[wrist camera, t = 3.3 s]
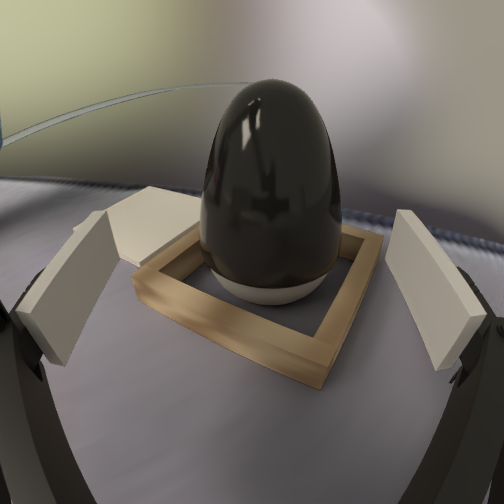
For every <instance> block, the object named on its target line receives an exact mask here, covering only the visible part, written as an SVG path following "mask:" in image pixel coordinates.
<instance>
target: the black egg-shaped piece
mask: <svg viewBox="0 0 504 504" xmlns="http://www.w3.org/2000/svg"><path fill="white" fill-rule="evenodd" d="M199 238H200V248H201V253H202V256H203V259H204V261H205V262H206V264H207V265H208V266H209V267H210V268H211V270H212V272H213V274H214V276H215V277H216V279H217V280H218V281H219V283H220V284H221V285H222V286H223V287H224V288H225V289H226V290H228V291H229V292H230V293H231V294H233V295H235V296H236V297H238V298H240V299H242V300H245V301H247V302H250V303H254V304H259V305H282V304H287V303H291V302H294V301H297V300H299V299H301V298H303V297H305V296H307V295H308V294H310V293H311V292H312V291H313V290H315V289H316V288H317V287H318V286H319V285H320V284H321V282H322V281H323V280H324V278H325V277H326V275H327V274H328V272H329V271H330V270H331V269H332V268H333V266H334V265H335V264H336V262H337V260H338V257H339V253H340V248H341V239H342V210H341V196H340V188H339V181H338V174H337V169H336V163H335V159H334V154H333V149H332V146H331V142H330V138H329V135H328V132H327V130H326V127H325V124H324V122H323V120H322V117H321V115H320V113H319V111H318V110H317V108H316V106H315V105H314V103H313V101H312V100H311V99H310V97H309V96H308V95H307V94H306V93H305V92H304V91H303V90H301V89H300V88H298V87H297V86H295V85H293V84H291V83H289V82H286V81H282V80H277V79H268V80H261V81H257V82H254V83H252V84H250V85H248V86H246V87H245V88H243V89H242V90H241V91H239V92H238V93H237V94H236V96H235V97H234V98H233V100H232V101H231V103H230V104H229V106H228V107H227V109H226V111H225V113H224V115H223V117H222V119H221V121H220V123H219V126H218V128H217V131H216V134H215V137H214V140H213V143H212V147H211V151H210V155H209V160H208V164H207V168H206V173H205V178H204V184H203V190H202V198H201V208H200V225H199Z"/></svg>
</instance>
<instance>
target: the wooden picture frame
mask: <svg viewBox="0 0 504 504" xmlns="http://www.w3.org/2000/svg"><path fill="white" fill-rule="evenodd" d="M383 238H384V236H383V235H379V234H376V233H373V232H369V231H366V230H362V229H359V228H356V227H352V226H349V225H345V224H342V239H341V248H340V253H339V256H340V257H344V258H347V259H350V260H353V261H354V263H353V265H352V267H351V269H350V271H349V273H348V275H347V276H346V278H345V280H344V282H343V284H342V286H341V288H340V290H339V292H338V294H337V296H336V298H335V300H334V301H333V303H332V305H331V307H330V309H329V311H328V312H327V314H326V316H325V318H324V320H323V322H322V323H321V325H320V327H319V329H318V330H317V332H316V334H315V336H314V337H313V338H312V337H309V336H307V335H304V334H302V333H299V332H297V331H294V330H292V329H289V328H287V327H284V326H282V325H279V324H277V323H274V322H272V321H269V320H267V319H264V318H262V317H260V316H257V315H255V314H253V313H250V312H248V311H245V310H243V309H241V308H238V307H236V306H234V305H231V304H229V303H227V302H225V301H222V300H220V299H218V298H215V297H213V296H211V295H209V294H206V293H204V292H202V291H200V290H198V289H195V288H193V287H191V286H189V285H187V284H184V283H182V281H183V280H184V279H185V278H186V277H187V276H189V275H190V274H191V273H192V272H193V271H195V270H196V269H197V268H198V267H199V266H200V265H202V264H203V263H204V262H205V261H204V259H203V256H202V253H201V248H200V238H199V226H198V227H196V228H195V229H194V230H192V231H191V232H189V233H188V234H186V235H185V236H184V237H182V238H181V239H179V240H178V241H177V242H175V243H174V244H172V245H171V246H170V247H168V248H167V249H165V250H164V251H163V252H161V253H160V254H158V255H157V256H156V257H154V258H153V259H152V260H150V261H149V262H147V263H146V264H145V265H143V266H142V267H141V268H139V269H138V270H137V271H135V272H134V273H133V274H131V279H132V282H133V285H134V288H135V291H136V294H137V297H138V300H139V301H141V302H143V303H144V304H146V305H148V306H150V307H151V308H153V309H155V310H156V311H158V312H160V313H162V314H163V315H165V316H167V317H169V318H171V319H172V320H174V321H176V322H178V323H180V324H181V325H183V326H185V327H187V328H189V329H191V330H192V331H194V332H196V333H198V334H200V335H202V336H204V337H206V338H208V339H210V340H212V341H213V342H215V343H217V344H219V345H221V346H223V347H225V348H227V349H229V350H231V351H233V352H235V353H238V354H240V355H242V356H244V357H246V358H248V359H250V360H252V361H254V362H256V363H259V364H261V365H263V366H265V367H267V368H269V369H272V370H274V371H276V372H278V373H281V374H283V375H285V376H287V377H290V378H292V379H294V380H297V381H299V382H301V383H304V384H306V385H309V386H311V387H314V388H316V389H319V390H320V389H321V388H322V386H323V384H324V382H325V380H326V378H327V376H328V374H329V372H330V370H331V368H332V366H333V364H334V362H335V360H336V358H337V356H338V354H339V351H340V349H341V347H342V345H343V343H344V341H345V339H346V336H347V334H348V332H349V330H350V328H351V325H352V323H353V321H354V318H355V316H356V314H357V311H358V309H359V307H360V304H361V302H362V299H363V297H364V295H365V292H366V290H367V287H368V285H369V282H370V279H371V277H372V274H373V272H374V269H375V266H376V264H377V261H378V258H379V254H380V250H381V246H382V242H383Z"/></svg>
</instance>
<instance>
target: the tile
mask: <svg viewBox="0 0 504 504" xmlns="http://www.w3.org/2000/svg"><path fill="white" fill-rule="evenodd" d="M200 208H201V198H197V197H193V196H189V195H185V194H181V193H176V192H172V191H168V190H164V189H159V188H155V187H151V186H149V187H147V188H145V189H143V190H141V191H139V192H137V193H135V194H133V195H131V196H129V197H127V198H125V199H124V200H122V201H120V202H118V203H116V204H114V205H113V206H111V207H109V208H107V209H105V210H107V214H108V218H109V221H110V225H111V229H112V233H113V236H114V240H115V244H116V247H117V250H118V254H119V257H120V258H122V259H124V260H126V261H128V262H130V263H132V264H134V265H136V266H138V267H140V268H141V267H142V266H143V265H145V264H146V263H147V262H149V261H150V260H152V259H153V258H154V257H156V256H157V255H158V254H160V253H161V252H163V251H164V250H165V249H167V248H168V247H170V246H171V245H172V244H174V243H175V242H177V241H178V240H179V239H181V238H182V237H184V236H185V235H186V234H188V233H189V232H191V231H192V230H194V229H195V228H196V227H198V226H199V225H200ZM81 224H82V223H81ZM81 224H79V225H77V226H76V227H74V228H73V231H74V232H75V231H76V230H77V229H78V228H79V226H80V225H81Z"/></svg>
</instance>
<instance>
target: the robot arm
mask: <svg viewBox="0 0 504 504" xmlns="http://www.w3.org/2000/svg"><path fill="white" fill-rule="evenodd" d="M2 144H3V140H2V129H1V119H0V150H1V148H2ZM119 260H120V257H119V254H118V250H117V247H116V244H115V240H114V236H113V233H112V229H111V225H110V221H109V218H108V214H107V210H103V211H93V212H92V213H91V214H90V215H89V216H88V217H87V218H86V220H85V221H84V222H83V223H82V224H81V225H80V226H79V228H78V229H77V230H76V231H75V232H74V233H73V235H72V236H71V237H70V238H69V239H68V241H67V242H66V243H65V244H64V245H63V247H62V248H61V249H60V250H59V252H58V253H57V254H56V255H55V257H54V258H53V259H52V260H51V262H50V263H49V264H48V265H47V267H45V268H44V269H43V270H41V271H40V272H39V273H38V274H37V275H36V276H35V277H34V279H33V280H32V281H31V283H30V285H28V287H27V288H26V290H25V292H23V294H22V295H21V297H20V298H19V299H18V301H17V302H16V304H15V305H14V307H13V308H12V310H11V311H10V313H9V314H8V312H7V310H6V309H5V307H4V305H3V304H2V302H1V300H0V504H11V499H12V502H13V504H97V503H96V501H95V499H94V497H93V496H92V494H91V492H90V490H89V488H88V486H87V484H86V482H85V480H84V478H83V476H82V473H81V471H80V469H79V467H78V465H77V463H76V460H75V458H74V456H73V453H72V451H71V448H70V446H69V444H68V441H67V438H66V436H65V433H64V431H63V428H62V425H61V422H60V419H59V416H58V414H57V411H56V407H55V404H54V401H53V398H52V395H51V391H50V388H49V384H48V380H47V377H46V373H45V369H44V366H43V364H42V362H41V361H40V359H41V357H42V355H43V354H44V355H45V357H46V358H47V359H48V361H49V362H50V363H52V364H56V365H60V366H66V364H67V362H68V359H69V357H70V355H71V353H72V350H73V348H74V346H75V344H76V342H77V340H78V338H79V336H80V334H81V331H82V329H83V327H84V325H85V323H86V321H87V319H88V317H89V315H90V313H91V311H92V309H93V308H94V306H95V304H96V302H97V300H98V298H99V296H100V294H101V292H102V291H103V289H104V287H105V285H106V283H107V281H108V280H109V278H110V276H111V274H112V272H113V271H114V269H115V267H116V265H117V264H118V262H119ZM385 261H386V263H387V265H388V267H389V269H390V271H391V273H392V275H393V277H394V279H395V281H396V283H397V285H398V287H399V289H400V291H401V293H402V295H403V297H404V299H405V301H406V303H407V305H408V307H409V310H410V312H411V314H412V316H413V318H414V321H415V323H416V325H417V327H418V330H419V332H420V334H421V337H422V339H423V341H424V344H425V346H426V349H427V351H428V353H429V356H430V358H431V361H432V364H433V366H434V369H435V371H438V370H443V369H448V368H452V367H453V365H454V364H455V362H456V361H457V360H458V358H460V360H461V362H462V366H461V367H460V368H459V370H458V371H457V372H456V374H455V375H454V376H453V377H452V379H451V380H450V382H449V383H451V384H452V382H453V381H454V380H455V382H454V385H453V388H452V391H451V394H450V397H449V400H448V402H447V405H446V408H445V410H444V413H443V415H442V418H441V420H440V423H439V425H438V427H437V430H436V432H435V434H434V436H433V439H432V441H431V443H430V445H429V447H428V449H427V451H426V454H425V456H424V458H423V460H422V462H421V464H420V465H419V467H418V469H417V471H416V473H415V475H414V477H413V478H412V480H411V482H410V484H409V486H408V487H407V489H406V491H405V492H404V494H403V496H402V497H401V499H400V501H399V502H398V504H482V502H483V500H484V498H485V495H486V493H487V490H488V487H489V485H490V482H491V479H492V482H491V488H490V494H489V499H488V503H487V504H504V318H502V317H496V316H495V314H494V312H493V311H492V309H491V308H490V306H489V304H488V303H487V301H486V300H485V298H484V297H483V295H482V294H481V293H480V292H479V289H478V288H477V286H475V283H474V282H473V281H472V279H471V278H470V276H469V275H468V274H467V273H466V272H465V271H463V270H462V269H461V268H460V267H456V266H455V265H454V264H453V262H452V261H451V260H450V258H449V257H448V255H447V254H446V253H445V251H444V250H443V249H442V248H441V246H440V245H439V244H438V242H437V241H436V240H435V238H434V237H433V236H432V235H431V233H430V232H429V231H428V230H427V228H426V227H425V226H424V225H423V223H422V222H421V221H420V220H419V219H418V217H417V216H416V215H415V214H414V213H413V212H412V210H399V209H397V212H396V217H395V221H394V225H393V230H392V234H391V238H390V242H389V245H388V249H387V253H386V257H385ZM10 497H11V498H10Z"/></svg>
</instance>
